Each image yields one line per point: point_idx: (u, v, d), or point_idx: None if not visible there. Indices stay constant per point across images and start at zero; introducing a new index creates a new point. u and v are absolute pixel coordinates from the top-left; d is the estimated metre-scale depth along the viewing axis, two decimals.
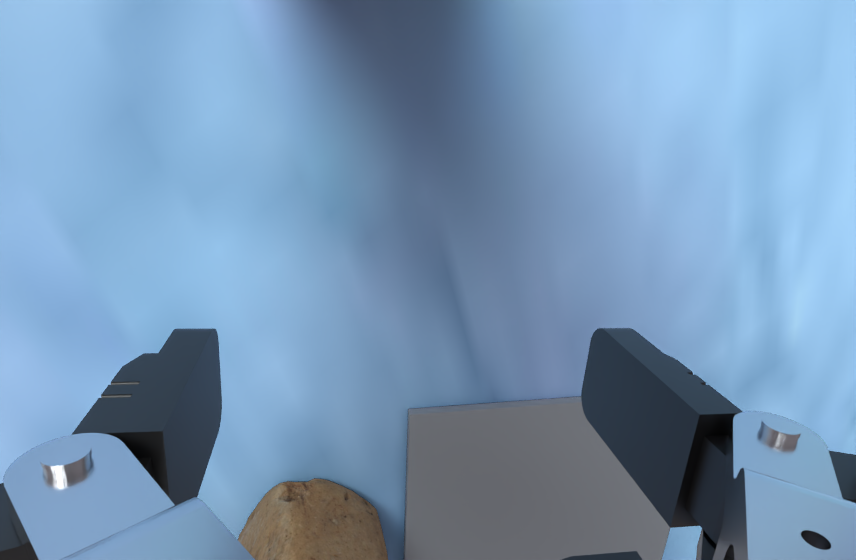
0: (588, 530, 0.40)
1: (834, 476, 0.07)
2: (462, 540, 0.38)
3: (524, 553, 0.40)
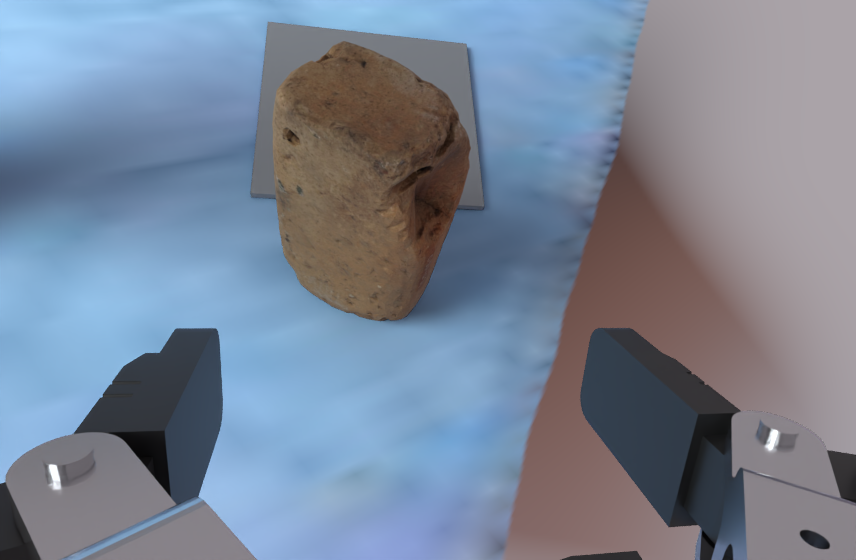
0: None
1: (832, 475, 0.07)
2: None
3: None
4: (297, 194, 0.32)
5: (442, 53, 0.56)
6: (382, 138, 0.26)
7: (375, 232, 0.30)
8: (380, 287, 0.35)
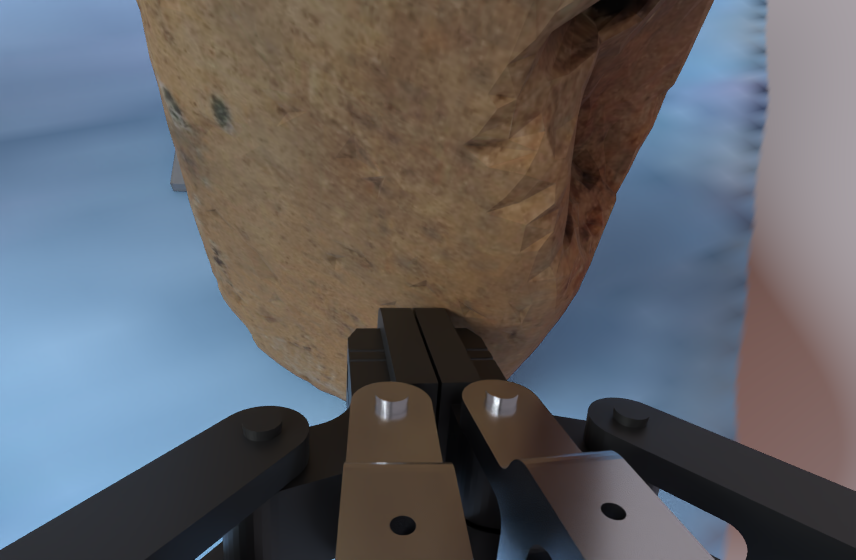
0: None
1: (522, 435, 0.08)
2: None
3: None
4: (218, 128, 0.11)
5: None
6: None
7: (449, 228, 0.10)
8: None
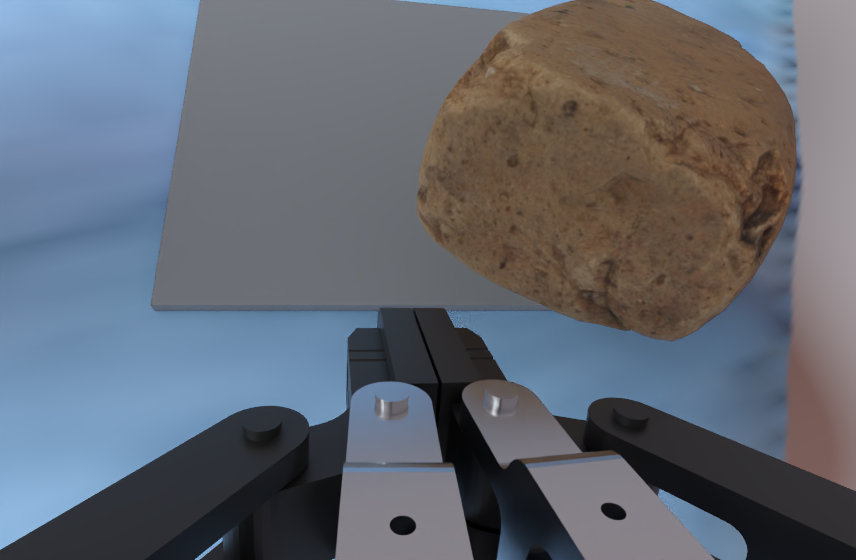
0: (406, 82, 0.30)
1: (522, 435, 0.08)
2: (406, 228, 0.26)
3: None
4: (622, 7, 0.24)
5: None
6: None
7: (739, 52, 0.24)
8: (761, 90, 0.19)
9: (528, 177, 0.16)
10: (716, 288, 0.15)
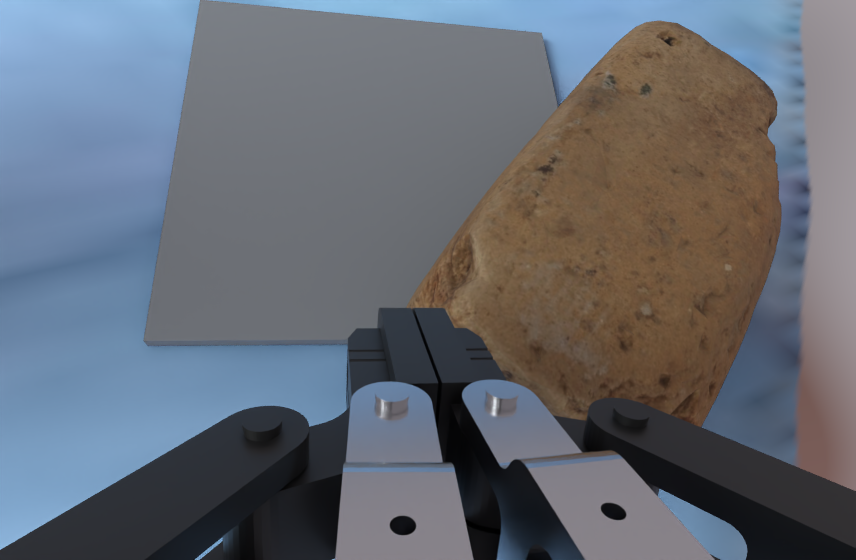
0: (407, 104, 0.30)
1: (522, 435, 0.08)
2: (407, 258, 0.26)
3: (440, 177, 0.28)
4: (635, 95, 0.22)
5: (503, 50, 0.33)
6: None
7: (751, 157, 0.22)
8: (730, 268, 0.19)
9: None
10: None
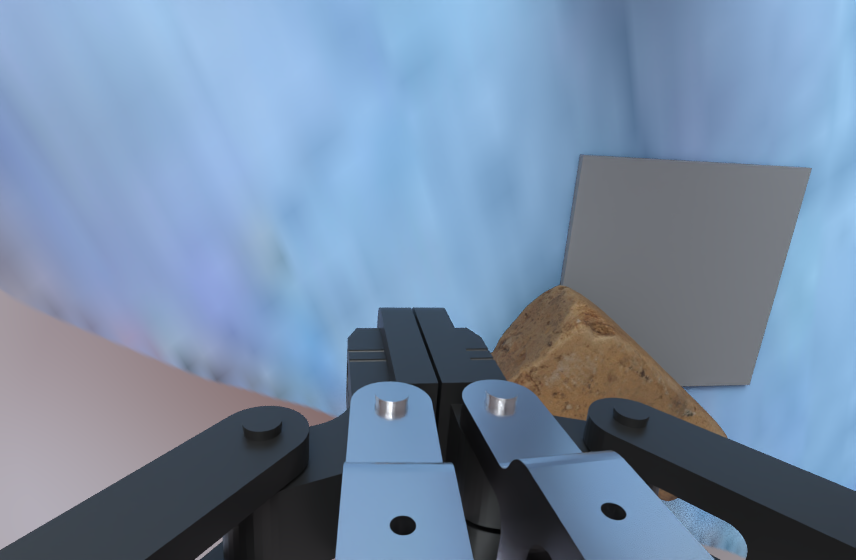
0: (707, 296, 0.48)
1: (522, 435, 0.08)
2: (607, 290, 0.46)
3: (654, 312, 0.47)
4: None
5: (739, 359, 0.50)
6: None
7: None
8: None
9: (541, 327, 0.40)
10: None
